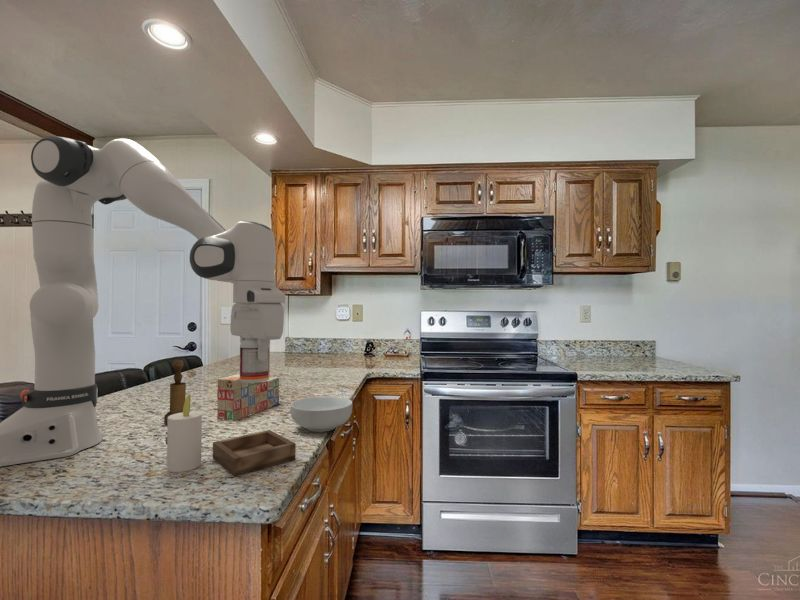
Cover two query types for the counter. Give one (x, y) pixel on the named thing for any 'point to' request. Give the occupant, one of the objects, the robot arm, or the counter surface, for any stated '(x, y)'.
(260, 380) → the pill bottle
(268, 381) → the stack of blocks
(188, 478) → the counter surface
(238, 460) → the tray
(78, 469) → the counter surface
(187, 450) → the candle
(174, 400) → the brown knobbed cylinder
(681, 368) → the counter surface
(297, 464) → the counter surface
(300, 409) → the cereal bowl
